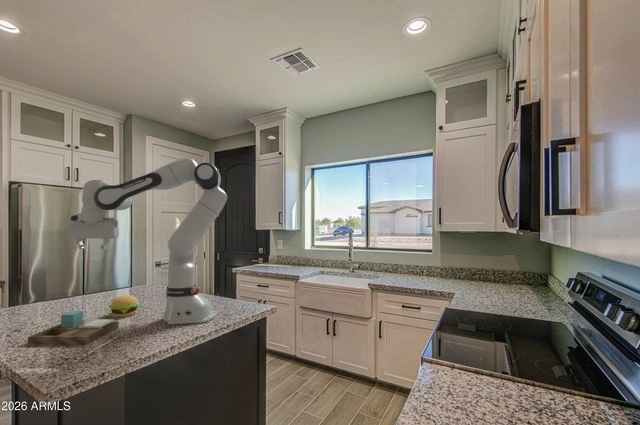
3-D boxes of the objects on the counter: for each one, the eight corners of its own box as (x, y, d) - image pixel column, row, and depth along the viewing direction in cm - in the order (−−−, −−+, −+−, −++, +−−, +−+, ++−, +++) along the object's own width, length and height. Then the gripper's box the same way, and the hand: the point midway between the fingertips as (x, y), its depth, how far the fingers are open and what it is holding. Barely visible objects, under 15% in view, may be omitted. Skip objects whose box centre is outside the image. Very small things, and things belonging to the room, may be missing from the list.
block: (82, 329, 113) (83, 311, 113) (72, 333, 108) (73, 314, 108) (70, 329, 112) (71, 311, 113) (60, 333, 108) (61, 314, 108)
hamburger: (101, 317, 130) (102, 298, 130) (124, 309, 141) (124, 292, 142) (124, 319, 128) (125, 299, 128) (145, 311, 139) (146, 293, 140)
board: (118, 330, 115) (118, 321, 115) (86, 347, 99) (86, 337, 99) (67, 329, 114) (68, 321, 115) (27, 347, 98) (27, 336, 99)
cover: (114, 321, 114) (114, 314, 114) (100, 328, 107) (100, 320, 107) (93, 321, 114) (94, 314, 114) (78, 328, 107) (78, 320, 107)
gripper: (122, 217, 129) (121, 248, 129) (77, 217, 129) (75, 248, 129) (113, 217, 123) (111, 249, 123) (64, 216, 123) (63, 249, 122)
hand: (92, 249), depth 126 cm, fingers open, 8 cm apart
